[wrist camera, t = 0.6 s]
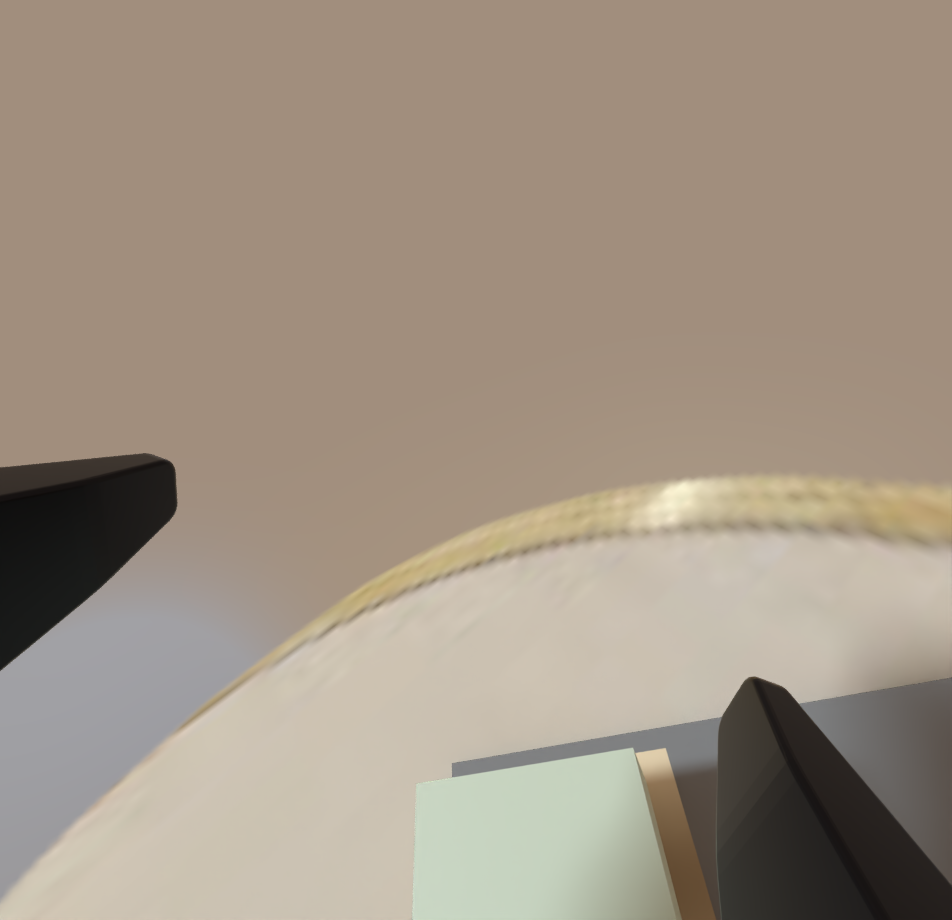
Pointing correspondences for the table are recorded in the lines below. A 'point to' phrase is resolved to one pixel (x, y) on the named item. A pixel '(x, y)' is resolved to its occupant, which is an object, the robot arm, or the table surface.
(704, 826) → the mat
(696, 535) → the table surface
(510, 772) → the tower top
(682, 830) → the tower base
